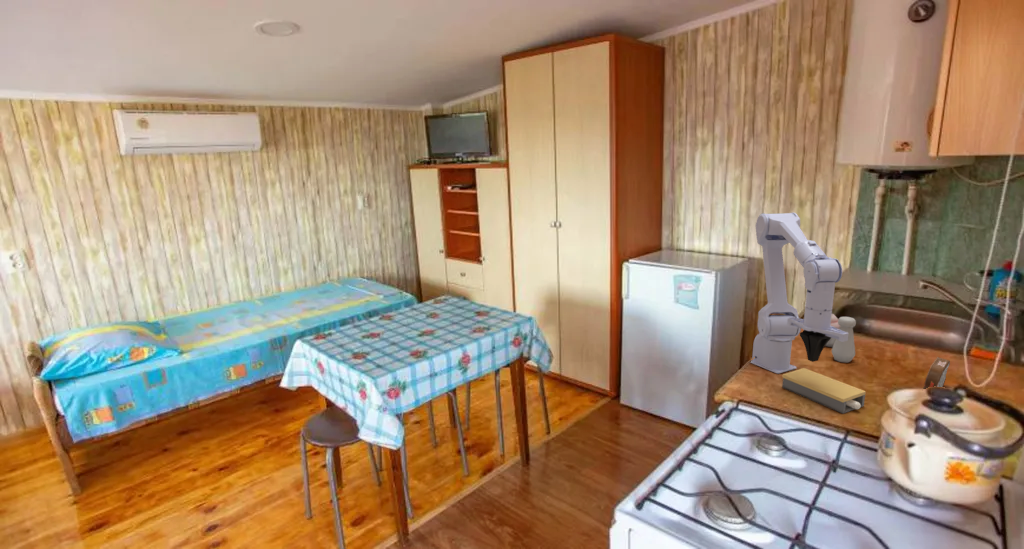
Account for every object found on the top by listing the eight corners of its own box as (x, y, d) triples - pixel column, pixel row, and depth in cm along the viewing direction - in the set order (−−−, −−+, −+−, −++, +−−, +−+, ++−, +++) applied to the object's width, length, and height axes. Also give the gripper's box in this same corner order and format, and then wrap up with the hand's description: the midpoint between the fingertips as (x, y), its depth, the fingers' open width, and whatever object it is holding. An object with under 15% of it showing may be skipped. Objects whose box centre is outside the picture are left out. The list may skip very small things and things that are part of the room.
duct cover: (782, 377, 136) (782, 374, 136) (803, 370, 139) (804, 367, 139) (843, 402, 122) (843, 399, 122) (865, 394, 125) (865, 391, 125)
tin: (932, 382, 138) (937, 352, 136) (947, 385, 135) (952, 355, 133) (919, 401, 128) (924, 369, 126) (935, 405, 125) (941, 372, 124)
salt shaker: (847, 356, 156) (853, 314, 153) (858, 363, 150) (863, 320, 147) (827, 356, 156) (831, 314, 153) (836, 363, 151) (842, 320, 148)
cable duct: (780, 386, 137) (781, 376, 136) (800, 380, 140) (802, 370, 140) (848, 416, 121) (850, 404, 121) (869, 408, 125) (871, 396, 124)
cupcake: (850, 344, 165) (854, 313, 163) (840, 351, 159) (844, 320, 157) (818, 336, 172) (821, 307, 170) (807, 344, 166) (810, 314, 164)
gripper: (780, 303, 132) (776, 353, 135) (837, 318, 119) (830, 373, 122) (799, 299, 135) (794, 348, 137) (856, 313, 122) (849, 367, 125)
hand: (812, 360), depth 130 cm, fingers closed
